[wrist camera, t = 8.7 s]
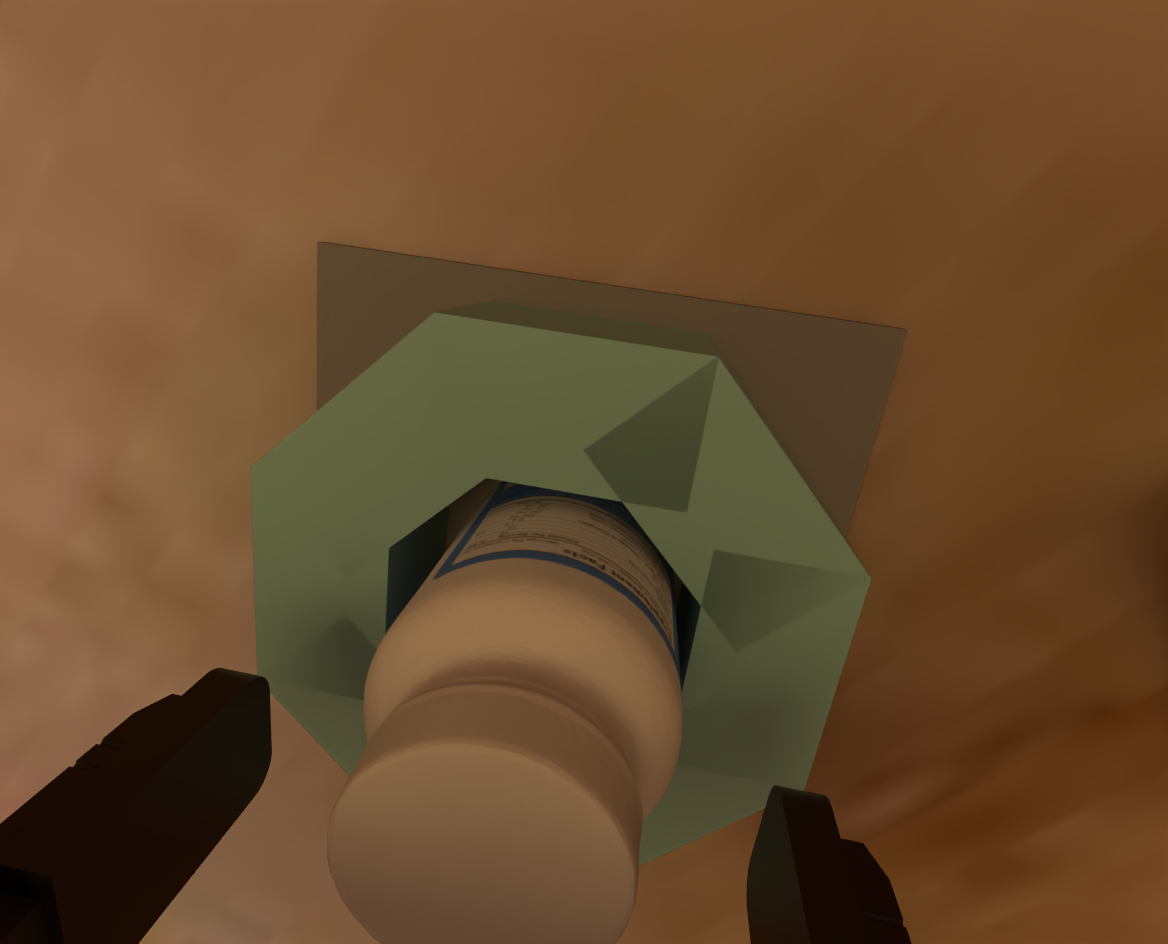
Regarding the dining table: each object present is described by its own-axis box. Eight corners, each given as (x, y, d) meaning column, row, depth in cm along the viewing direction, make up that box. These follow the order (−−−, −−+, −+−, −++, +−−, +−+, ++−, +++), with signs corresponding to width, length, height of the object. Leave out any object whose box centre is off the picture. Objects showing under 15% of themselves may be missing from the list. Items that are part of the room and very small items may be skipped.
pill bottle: (581, 672, 18) (501, 1087, 9) (434, 553, 18) (188, 871, 8) (718, 545, 17) (788, 897, 7) (561, 409, 16) (426, 609, 7)
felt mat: (901, 328, 15) (907, 330, 15) (763, 796, 19) (765, 807, 19) (325, 242, 16) (317, 241, 16) (322, 705, 20) (315, 713, 20)
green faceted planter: (864, 357, 15) (931, 389, 11) (746, 782, 19) (765, 912, 15) (346, 278, 16) (244, 282, 12) (338, 698, 20) (261, 800, 16)
